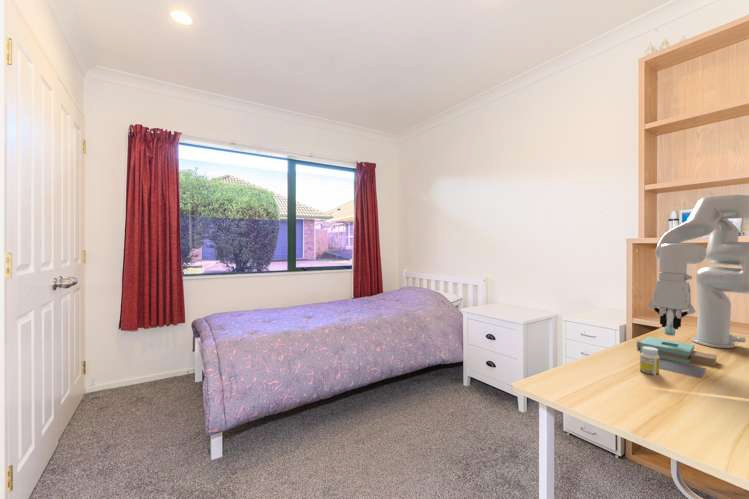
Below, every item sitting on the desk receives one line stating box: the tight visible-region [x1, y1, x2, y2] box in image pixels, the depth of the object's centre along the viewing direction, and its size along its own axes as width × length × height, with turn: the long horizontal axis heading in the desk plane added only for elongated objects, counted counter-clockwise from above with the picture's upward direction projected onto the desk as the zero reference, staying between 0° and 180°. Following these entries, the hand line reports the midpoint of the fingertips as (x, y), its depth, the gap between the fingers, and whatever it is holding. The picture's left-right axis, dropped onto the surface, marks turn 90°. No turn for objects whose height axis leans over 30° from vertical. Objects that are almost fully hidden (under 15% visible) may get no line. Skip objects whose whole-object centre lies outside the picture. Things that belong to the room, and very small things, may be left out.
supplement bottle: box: [639, 346, 660, 376], centre depth 110 cm, size 5×5×8 cm
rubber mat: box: [659, 357, 707, 379], centre depth 114 cm, size 12×12×1 cm
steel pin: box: [663, 308, 677, 336], centre depth 125 cm, size 3×3×10 cm
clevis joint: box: [636, 336, 718, 367], centre depth 125 cm, size 22×12×4 cm, turn 41°
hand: (670, 327), depth 125 cm, fingers closed on steel pin, 3 cm apart
